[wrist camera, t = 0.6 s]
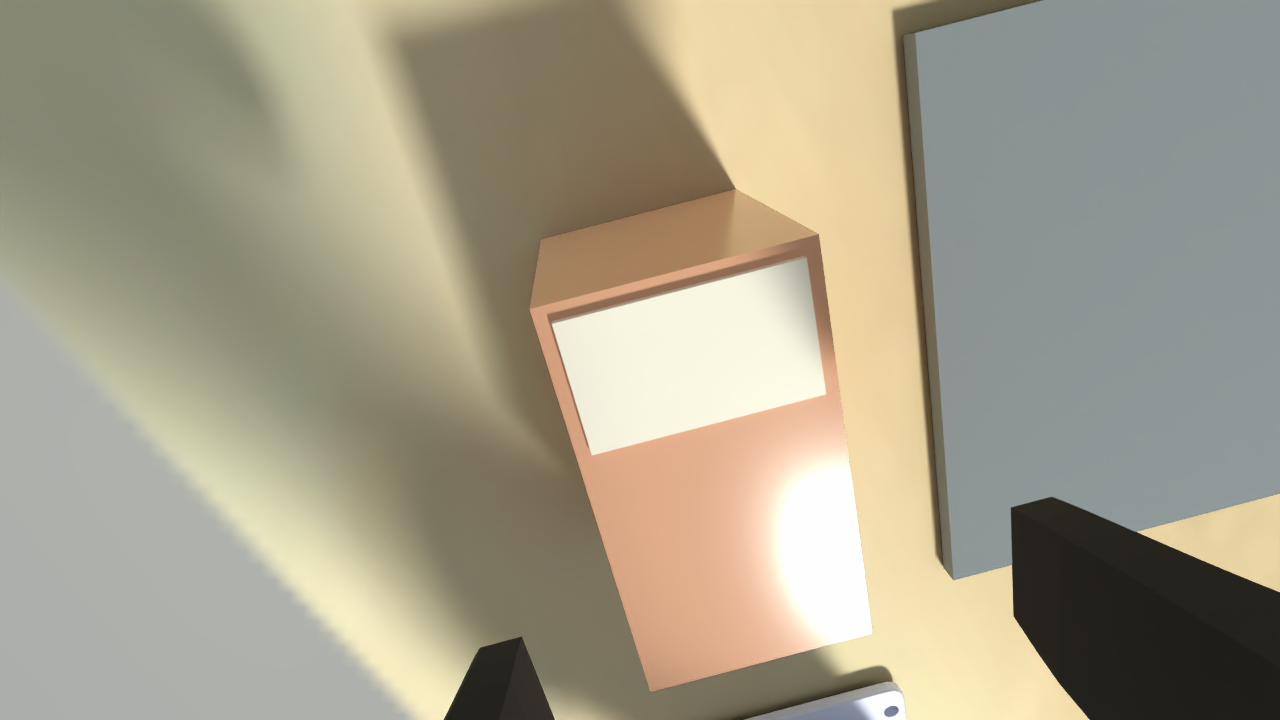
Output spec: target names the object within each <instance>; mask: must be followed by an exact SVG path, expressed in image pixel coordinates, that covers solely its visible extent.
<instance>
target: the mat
mask: <svg viewBox="0 0 1280 720" xmlns="http://www.w3.org/2000/svg"><path fill="white" fill-rule="evenodd" d="M903 42H904V56H905V69H906V82H907V95H908V108H909V121H910V134H911V147H912V160H913V173H914V186H915V199H916V212H917V225H918V239H919V252H920V265H921V278H922V291H923V304H924V317H925V330H926V343H927V356H928V369H929V382H930V395H931V408H932V421H933V435H934V448H935V461H936V474H937V487H938V500H939V513H940V526H941V539H942V552H943V565H944V569H945V570H946V571H947V573H948V574H949V575H950V576H951V578H952V579H953V580H956V579H960V578H964V577H968V576H971V575H975V574H979V573H983V572H987V571H990V570H994V569H998V568H1002V567H1005V566H1009V565H1012V538H1011V507H1014V506H1018V505H1022V504H1026V503H1029V502H1033V501H1037V500H1041V499H1045V498H1048V497H1054V498H1057V499H1059V500H1062V501H1064V502H1067V503H1070V504H1072V505H1074V506H1077V507H1079V508H1082V509H1084V510H1086V511H1089V512H1091V513H1093V514H1096V515H1098V516H1100V517H1103V518H1105V519H1107V520H1110V521H1112V522H1114V523H1116V524H1119V525H1121V526H1123V527H1126V528H1128V529H1130V530H1132V531H1135V532H1137V531H1141V530H1145V529H1148V528H1152V527H1156V526H1160V525H1163V524H1167V523H1171V522H1175V521H1178V520H1182V519H1186V518H1190V517H1194V516H1197V515H1201V514H1205V513H1209V512H1212V511H1216V510H1220V509H1224V508H1227V507H1231V506H1235V505H1239V504H1242V503H1246V502H1250V501H1254V500H1258V499H1261V498H1265V497H1269V496H1273V495H1276V494H1280V0H1039V1H1035V2H1032V3H1028V4H1024V5H1020V6H1016V7H1012V8H1008V9H1004V10H1000V11H997V12H993V13H989V14H985V15H981V16H977V17H973V18H969V19H965V20H961V21H958V22H954V23H950V24H946V25H942V26H938V27H934V28H930V29H926V30H923V31H919V32H915V33H911V34H907V35H903Z"/></svg>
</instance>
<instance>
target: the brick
mask: <svg viewBox="0 0 1280 720" xmlns="http://www.w3.org/2000/svg"><path fill="white" fill-rule="evenodd" d="M530 313H531V316H532V319H533V322H534V325H535V328H536V332H537V335H538V338H539V341H540V344H541V347H542V351H543V354H544V357H545V360H546V363H547V366H548V370H549V373H550V376H551V379H552V382H553V385H554V389H555V392H556V395H557V398H558V401H559V404H560V408H561V411H562V414H563V417H564V420H565V424H566V427H567V430H568V433H569V436H570V439H571V443H572V446H573V449H574V452H575V455H576V458H577V462H578V465H579V468H580V471H581V474H582V477H583V481H584V484H585V487H586V490H587V493H588V496H589V500H590V503H591V506H592V509H593V512H594V515H595V519H596V522H597V525H598V528H599V531H600V534H601V538H602V541H603V544H604V547H605V550H606V553H607V557H608V560H609V563H610V566H611V569H612V573H613V576H614V579H615V582H616V585H617V588H618V592H619V595H620V598H621V601H622V604H623V607H624V611H625V614H626V617H627V620H628V623H629V626H630V630H631V633H632V636H633V639H634V642H635V645H636V649H637V652H638V655H639V658H640V661H641V664H642V668H643V671H644V674H645V677H646V680H647V683H648V687H649V690H650V692H653V691H657V690H661V689H665V688H668V687H672V686H676V685H680V684H683V683H687V682H691V681H695V680H699V679H702V678H706V677H710V676H714V675H717V674H721V673H725V672H729V671H733V670H736V669H740V668H744V667H748V666H751V665H755V664H759V663H763V662H767V661H770V660H774V659H778V658H782V657H785V656H789V655H793V654H797V653H800V652H804V651H808V650H812V649H816V648H819V647H823V646H827V645H831V644H834V643H838V642H842V641H846V640H850V639H853V638H857V637H861V636H865V635H868V634H872V629H871V621H870V614H869V606H868V599H867V591H866V584H865V576H864V569H863V561H862V554H861V546H860V539H859V532H858V524H857V517H856V509H855V502H854V494H853V487H852V479H851V472H850V464H849V457H848V449H847V442H846V434H845V427H844V419H843V412H842V405H841V397H840V390H839V382H838V375H837V367H836V360H835V352H834V345H833V337H832V330H831V322H830V315H829V307H828V300H827V293H826V285H825V278H824V270H823V263H822V255H821V248H820V240H819V234H817V233H816V232H814V231H812V230H810V229H808V228H806V227H805V226H803V225H801V224H799V223H797V222H795V221H794V220H792V219H790V218H788V217H786V216H784V215H783V214H781V213H779V212H777V211H775V210H773V209H772V208H770V207H768V206H766V205H764V204H763V203H761V202H759V201H757V200H755V199H753V198H752V197H750V196H748V195H746V194H744V193H742V192H741V191H739V190H737V189H734V190H730V191H726V192H722V193H718V194H714V195H711V196H707V197H703V198H699V199H695V200H691V201H687V202H683V203H680V204H676V205H672V206H668V207H664V208H660V209H656V210H653V211H649V212H645V213H641V214H637V215H633V216H629V217H625V218H622V219H618V220H614V221H610V222H606V223H602V224H598V225H594V226H591V227H587V228H583V229H579V230H575V231H571V232H567V233H564V234H560V235H556V236H552V237H548V238H544V239H541V242H540V248H539V254H538V260H537V266H536V272H535V278H534V285H533V291H532V297H531V303H530Z"/></svg>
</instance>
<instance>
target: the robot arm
mask: <svg viewBox="0 0 1280 720" xmlns="http://www.w3.org/2000/svg"><path fill="white" fill-rule="evenodd" d="M1011 538H1012V574H1013V611H1014V617H1015V619H1016V620H1017V622H1018V623H1019V625H1020V627H1021V628H1022V630H1023V631H1024V633H1025V634H1026V636H1027V637H1028V639H1029V640H1030V642H1031V643H1032V645H1033V646H1034V648H1035V649H1036V651H1037V652H1038V654H1039V655H1040V657H1041V658H1042V659H1043V661H1044V662H1045V664H1046V665H1047V667H1048V668H1049V669H1050V671H1051V672H1052V674H1053V675H1054V677H1055V678H1056V679H1057V681H1058V682H1059V684H1060V685H1061V686H1062V687H1063V688H1064V690H1065V691H1066V692H1067V693H1068V694H1069V696H1070V697H1071V698H1072V699H1073V700H1074V702H1075V703H1076V704H1077V705H1078V706H1079V707H1080V709H1081V710H1082V711H1083V712H1084V713H1085V714H1086V716H1087V717H1088V718H1089V719H1090V720H1280V592H1277V591H1275V590H1272V589H1270V588H1267V587H1265V586H1262V585H1260V584H1257V583H1255V582H1252V581H1250V580H1248V579H1245V578H1243V577H1240V576H1238V575H1235V574H1233V573H1231V572H1228V571H1226V570H1223V569H1221V568H1219V567H1216V566H1214V565H1211V564H1209V563H1207V562H1204V561H1202V560H1200V559H1197V558H1195V557H1193V556H1190V555H1188V554H1186V553H1183V552H1181V551H1179V550H1176V549H1174V548H1172V547H1169V546H1167V545H1165V544H1162V543H1160V542H1158V541H1155V540H1153V539H1151V538H1149V537H1146V536H1144V535H1142V534H1139V533H1137V532H1135V531H1132V530H1130V529H1128V528H1126V527H1123V526H1121V525H1119V524H1116V523H1114V522H1112V521H1110V520H1107V519H1105V518H1103V517H1100V516H1098V515H1096V514H1093V513H1091V512H1089V511H1086V510H1084V509H1082V508H1079V507H1077V506H1074V505H1072V504H1070V503H1067V502H1064V501H1062V500H1059V499H1057V498H1054V497H1048V498H1045V499H1041V500H1037V501H1033V502H1029V503H1026V504H1022V505H1018V506H1014V507H1011ZM444 720H555V719H554V717H553V714H552V712H551V709H550V707H549V704H548V702H547V699H546V697H545V694H544V692H543V689H542V686H541V684H540V681H539V679H538V676H537V674H536V671H535V669H534V666H533V664H532V661H531V659H530V656H529V654H528V651H527V649H526V646H525V644H524V641H523V639H522V637H519V638H515V639H512V640H508V641H504V642H500V643H496V644H493V645H489V646H485V647H481V648H480V649H479V650H478V652H477V654H476V655H475V657H474V659H473V661H472V663H471V665H470V667H469V669H468V671H467V673H466V675H465V677H464V680H463V682H462V684H461V686H460V688H459V690H458V692H457V694H456V696H455V698H454V700H453V702H452V704H451V706H450V708H449V710H448V712H447V714H446V716H445V718H444ZM744 720H906V713H905V704H904V696H903V694H902V691H901V690H900V688H899V686H898V685H897V684H896V683H893V682H883V683H879V684H875V685H872V686H868V687H864V688H860V689H857V690H853V691H849V692H845V693H842V694H838V695H834V696H830V697H827V698H823V699H819V700H815V701H812V702H808V703H804V704H800V705H797V706H793V707H789V708H785V709H782V710H778V711H774V712H770V713H767V714H763V715H759V716H755V717H752V718H748V719H744Z"/></svg>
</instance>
